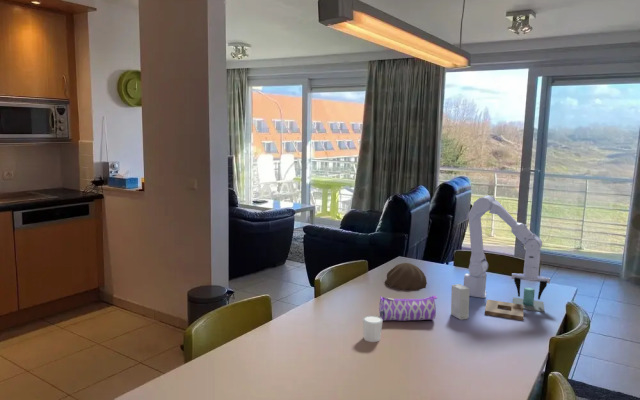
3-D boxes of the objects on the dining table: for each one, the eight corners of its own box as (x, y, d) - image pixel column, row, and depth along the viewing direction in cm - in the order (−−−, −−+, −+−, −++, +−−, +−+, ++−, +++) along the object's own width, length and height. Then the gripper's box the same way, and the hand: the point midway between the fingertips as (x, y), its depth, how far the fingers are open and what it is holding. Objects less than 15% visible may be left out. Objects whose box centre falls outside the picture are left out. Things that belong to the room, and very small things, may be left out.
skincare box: (468, 318, 181) (471, 288, 180) (459, 320, 180) (461, 289, 178) (459, 313, 187) (461, 283, 185) (449, 314, 185) (451, 284, 184)
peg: (522, 304, 196) (524, 289, 195) (523, 301, 200) (524, 287, 199) (533, 306, 195) (534, 291, 194) (533, 303, 198) (534, 288, 197)
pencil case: (380, 324, 174) (381, 300, 173) (375, 314, 184) (376, 291, 182) (438, 323, 176) (439, 299, 175) (430, 314, 185) (432, 291, 184)
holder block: (484, 314, 186) (484, 310, 186) (487, 302, 199) (487, 299, 199) (523, 320, 181) (523, 316, 181) (522, 308, 194) (523, 304, 193)
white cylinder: (369, 344, 157) (369, 324, 156) (358, 336, 163) (358, 317, 162) (386, 340, 160) (386, 321, 159) (374, 332, 166) (375, 314, 165)
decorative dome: (383, 276, 233) (384, 257, 231) (423, 278, 232) (424, 258, 230) (386, 289, 214) (387, 268, 212) (430, 291, 213) (431, 269, 211)
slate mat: (512, 307, 194) (512, 306, 194) (512, 298, 205) (513, 297, 205) (544, 312, 190) (544, 311, 190) (543, 302, 201) (543, 301, 201)
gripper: (512, 265, 194) (509, 297, 196) (551, 270, 189) (548, 303, 191) (512, 261, 201) (510, 292, 203) (550, 266, 195) (547, 297, 197)
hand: (528, 297), depth 197 cm, fingers open, 7 cm apart
